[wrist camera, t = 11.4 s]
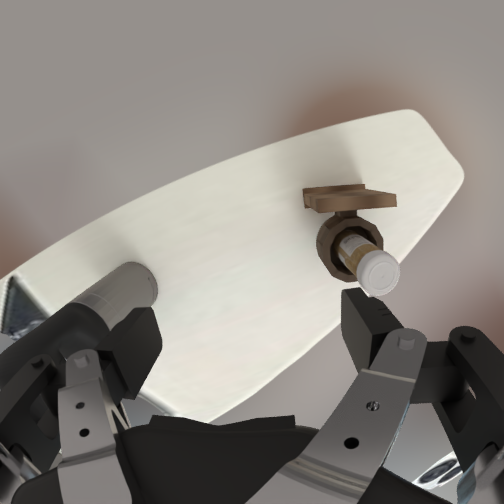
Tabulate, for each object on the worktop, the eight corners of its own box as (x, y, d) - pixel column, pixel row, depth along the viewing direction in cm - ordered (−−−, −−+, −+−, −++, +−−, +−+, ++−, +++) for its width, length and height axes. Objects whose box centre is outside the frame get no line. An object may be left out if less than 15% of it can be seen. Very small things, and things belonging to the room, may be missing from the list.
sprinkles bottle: (332, 260, 39) (360, 299, 26) (331, 229, 38) (362, 256, 25) (361, 257, 39) (399, 294, 26) (361, 227, 38) (402, 252, 25)
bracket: (309, 265, 45) (323, 295, 33) (302, 188, 42) (316, 193, 30) (366, 258, 44) (395, 284, 33) (363, 184, 41) (395, 188, 29)
